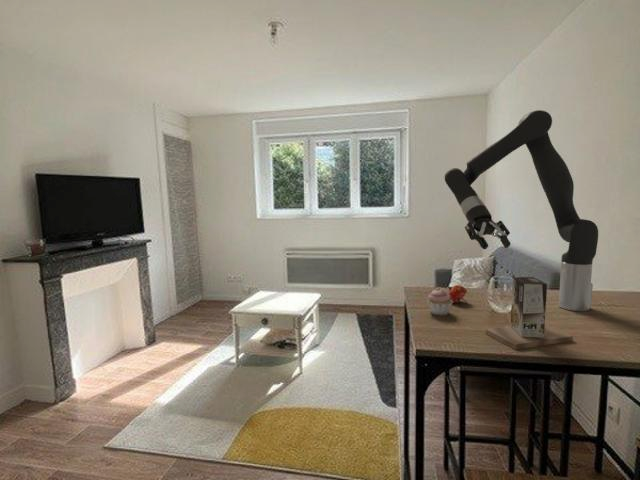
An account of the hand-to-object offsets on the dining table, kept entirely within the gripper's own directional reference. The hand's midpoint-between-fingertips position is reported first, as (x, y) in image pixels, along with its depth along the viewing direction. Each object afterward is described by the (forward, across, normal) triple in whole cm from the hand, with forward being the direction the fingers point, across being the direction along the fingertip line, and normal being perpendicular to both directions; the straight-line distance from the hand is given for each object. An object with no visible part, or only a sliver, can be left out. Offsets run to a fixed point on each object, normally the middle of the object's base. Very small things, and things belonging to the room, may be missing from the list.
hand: (497, 247), depth 116 cm
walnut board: (+28, 0, +8) cm, 29 cm away
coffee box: (+27, 0, +8) cm, 28 cm away
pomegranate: (+3, +1, +34) cm, 34 cm away
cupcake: (+9, -13, +28) cm, 32 cm away
